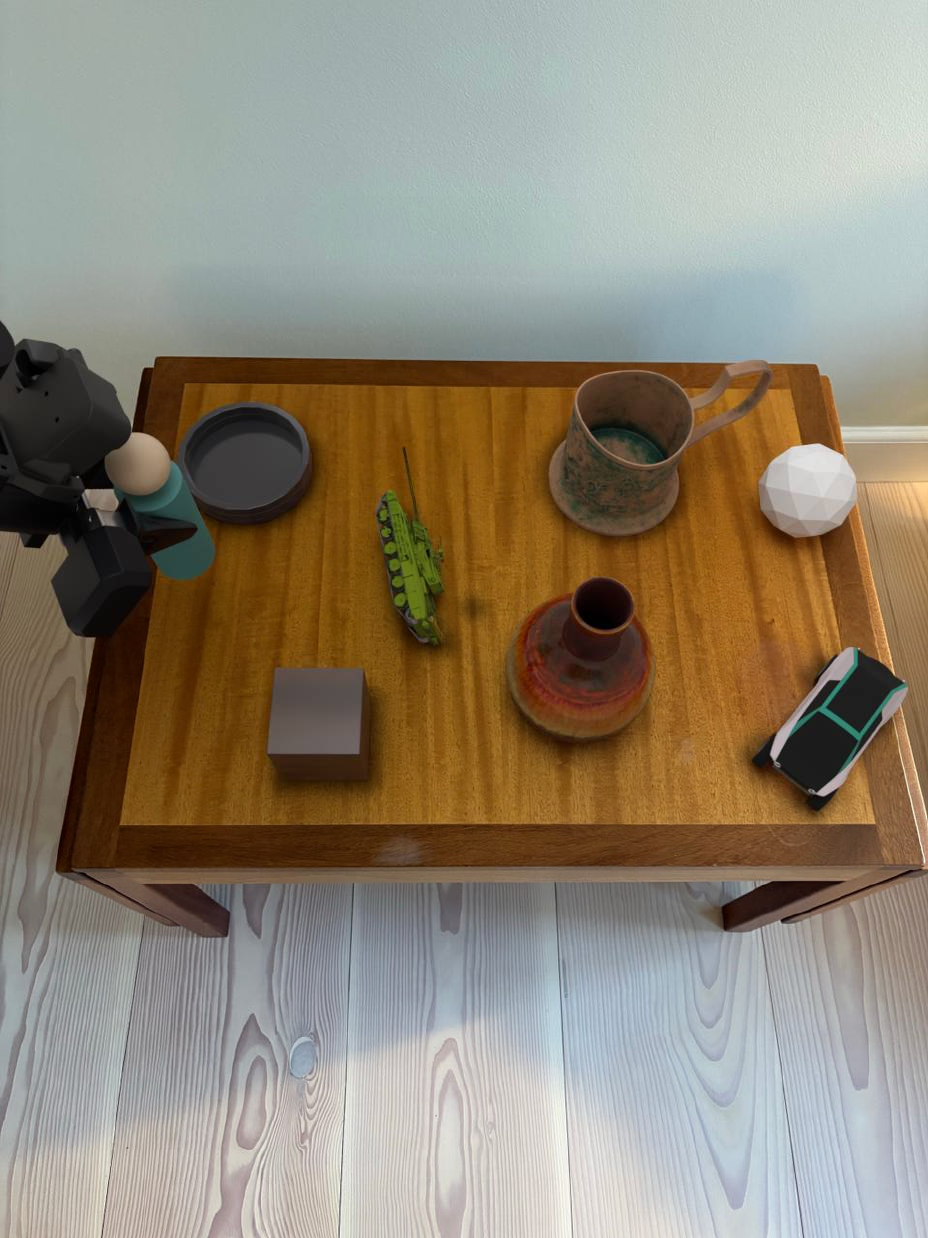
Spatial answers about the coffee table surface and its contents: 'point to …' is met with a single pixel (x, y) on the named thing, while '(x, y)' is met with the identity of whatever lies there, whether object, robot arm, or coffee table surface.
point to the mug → (635, 446)
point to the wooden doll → (161, 501)
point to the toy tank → (411, 565)
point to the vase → (582, 663)
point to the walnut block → (320, 724)
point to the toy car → (833, 724)
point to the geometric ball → (807, 490)
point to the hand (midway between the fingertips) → (182, 505)
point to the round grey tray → (246, 462)
